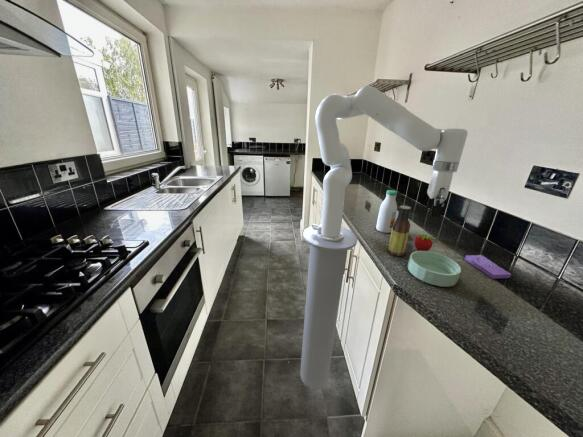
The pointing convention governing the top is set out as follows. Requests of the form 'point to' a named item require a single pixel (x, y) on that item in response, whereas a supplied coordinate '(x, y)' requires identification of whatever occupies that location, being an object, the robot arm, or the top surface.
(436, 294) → the top surface
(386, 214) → the milk bottle
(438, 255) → the bowl
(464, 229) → the top surface
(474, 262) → the sponge
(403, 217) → the sauce bottle
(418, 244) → the strawberry
